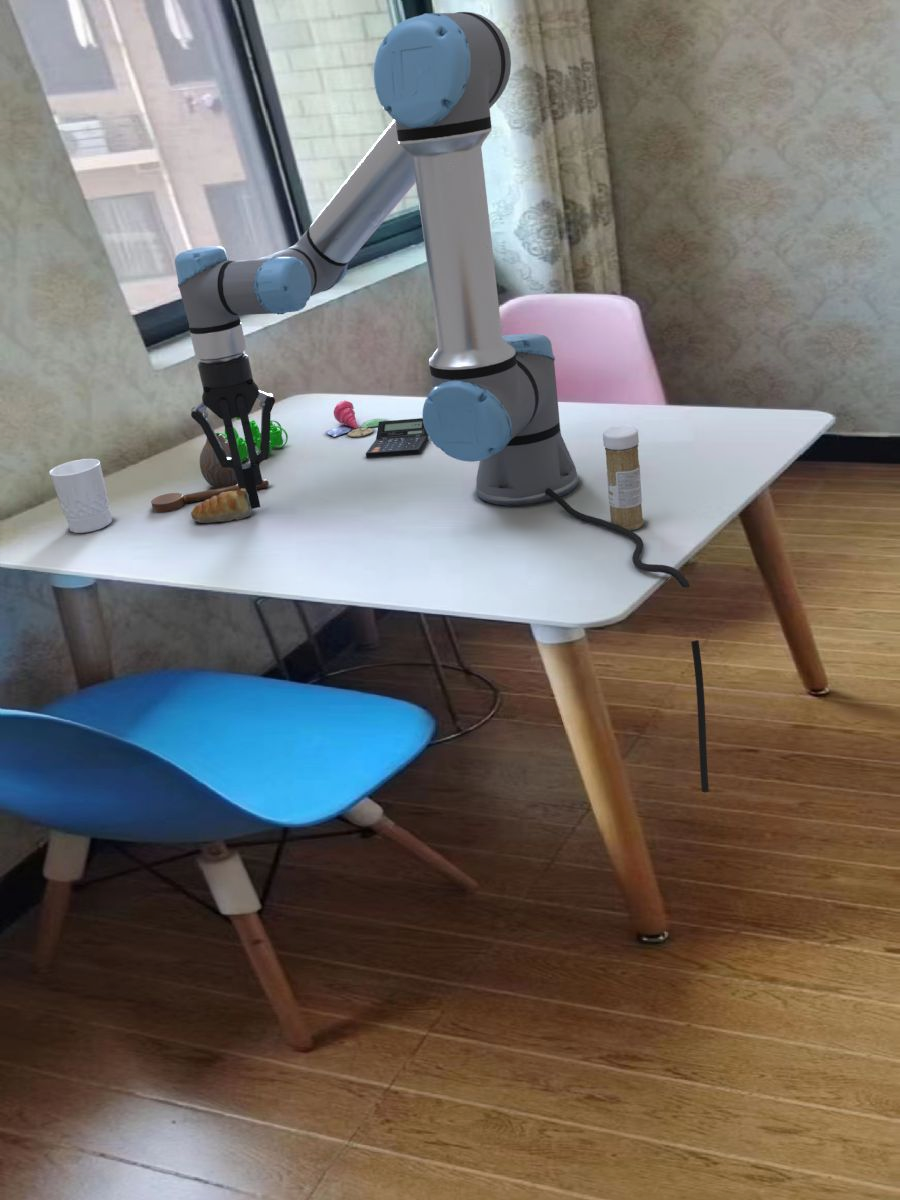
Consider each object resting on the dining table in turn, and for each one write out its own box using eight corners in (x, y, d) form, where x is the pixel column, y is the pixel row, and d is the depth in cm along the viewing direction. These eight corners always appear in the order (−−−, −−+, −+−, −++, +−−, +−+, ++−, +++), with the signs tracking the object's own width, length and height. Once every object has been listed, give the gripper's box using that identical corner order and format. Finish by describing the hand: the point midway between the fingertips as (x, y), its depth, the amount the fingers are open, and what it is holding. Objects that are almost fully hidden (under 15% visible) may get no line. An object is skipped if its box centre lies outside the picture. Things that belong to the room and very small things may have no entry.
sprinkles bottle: (608, 521, 157) (600, 427, 152) (642, 517, 157) (635, 422, 151) (612, 534, 153) (604, 437, 148) (646, 530, 153) (639, 433, 147)
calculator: (366, 458, 199) (363, 441, 197) (382, 436, 209) (379, 420, 208) (419, 454, 197) (416, 437, 195) (432, 432, 207) (429, 416, 205)
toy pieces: (312, 433, 217) (307, 411, 215) (355, 416, 224) (352, 394, 222) (353, 441, 209) (349, 417, 207) (398, 422, 216) (394, 400, 214)
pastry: (193, 529, 177) (187, 506, 176) (192, 515, 184) (187, 493, 182) (253, 517, 179) (248, 494, 177) (251, 504, 185) (246, 481, 183)
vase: (226, 493, 192) (214, 442, 188) (196, 489, 195) (184, 440, 192) (253, 478, 197) (243, 429, 193) (224, 475, 200) (213, 427, 197)
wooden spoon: (268, 482, 194) (266, 474, 193) (270, 491, 189) (268, 483, 189) (153, 504, 191) (151, 496, 191) (152, 514, 187) (150, 506, 186)
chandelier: (194, 457, 213) (185, 421, 210) (261, 434, 221) (254, 399, 218) (236, 470, 202) (228, 432, 199) (306, 445, 211) (298, 408, 208)
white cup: (125, 516, 188) (109, 458, 184) (96, 535, 181) (79, 475, 177) (86, 516, 191) (69, 458, 186) (56, 534, 184) (38, 475, 180)
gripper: (264, 343, 174) (294, 489, 184) (178, 359, 172) (213, 506, 182) (267, 353, 167) (298, 504, 177) (177, 369, 166) (214, 521, 176)
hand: (255, 505), depth 180 cm, fingers closed
